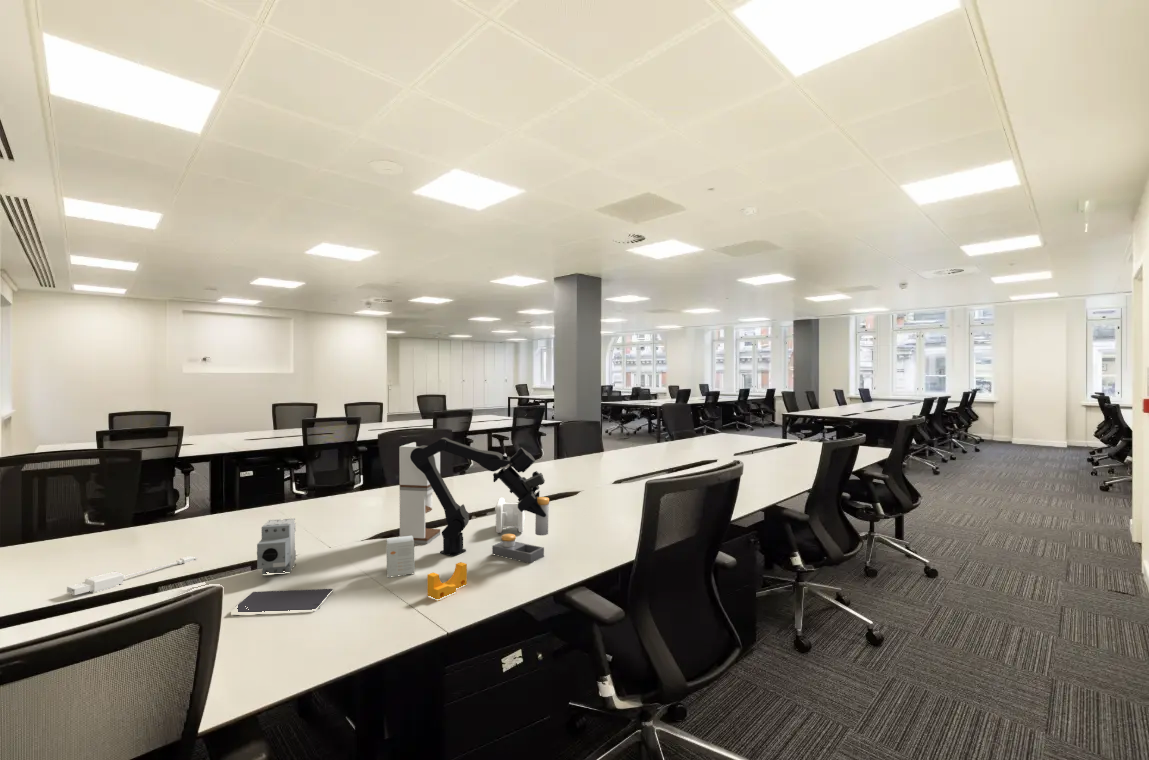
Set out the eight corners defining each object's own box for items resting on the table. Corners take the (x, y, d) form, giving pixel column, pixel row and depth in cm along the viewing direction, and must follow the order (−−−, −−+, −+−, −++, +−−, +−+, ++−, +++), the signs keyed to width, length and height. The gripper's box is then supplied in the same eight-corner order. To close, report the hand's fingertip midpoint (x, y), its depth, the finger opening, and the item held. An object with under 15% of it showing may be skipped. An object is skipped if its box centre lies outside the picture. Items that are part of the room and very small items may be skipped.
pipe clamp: (437, 601, 143) (437, 578, 143) (427, 597, 146) (427, 574, 146) (470, 587, 153) (470, 565, 153) (460, 583, 156) (460, 562, 156)
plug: (543, 536, 178) (543, 501, 178) (531, 533, 181) (532, 499, 180) (551, 532, 182) (552, 498, 182) (540, 530, 185) (540, 496, 184)
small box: (413, 568, 167) (413, 535, 167) (414, 574, 162) (414, 540, 162) (386, 571, 165) (386, 537, 164) (387, 578, 159) (386, 543, 159)
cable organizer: (522, 535, 201) (522, 505, 201) (494, 535, 200) (494, 505, 200) (524, 524, 216) (524, 495, 215) (498, 524, 215) (498, 495, 215)
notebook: (332, 593, 149) (252, 597, 147) (332, 588, 149) (252, 591, 147) (316, 614, 137) (228, 618, 134) (316, 608, 137) (228, 612, 134)
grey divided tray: (530, 563, 172) (530, 545, 171) (492, 554, 180) (492, 537, 180) (543, 556, 178) (543, 538, 178) (506, 548, 186) (506, 531, 186)
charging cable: (200, 563, 174) (200, 553, 174) (75, 598, 144) (75, 586, 144) (191, 561, 176) (191, 551, 176) (65, 595, 146) (66, 583, 146)
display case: (427, 544, 190) (427, 447, 190) (399, 542, 192) (399, 446, 191) (440, 534, 202) (440, 443, 201) (414, 533, 203) (413, 442, 203)
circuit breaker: (255, 584, 154) (255, 533, 154) (269, 566, 168) (269, 519, 168) (284, 581, 156) (283, 531, 156) (295, 564, 170) (295, 518, 170)
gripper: (528, 470, 172) (561, 505, 172) (533, 460, 190) (563, 491, 190) (503, 494, 172) (537, 528, 172) (511, 482, 190) (541, 513, 190)
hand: (545, 514), depth 181 cm, fingers closed on plug, 4 cm apart
